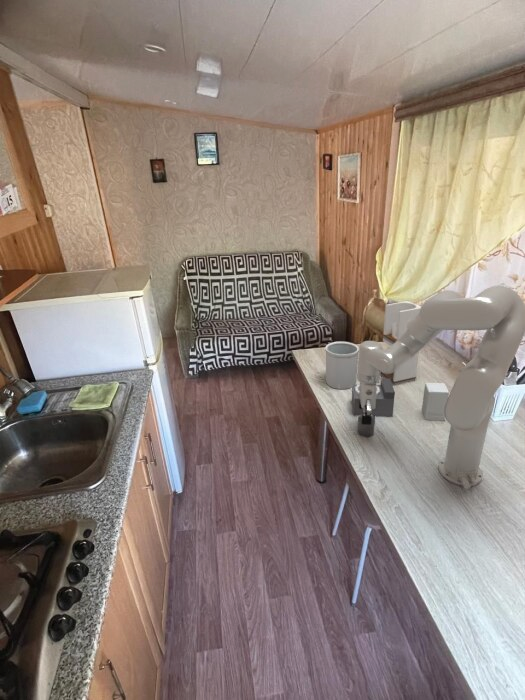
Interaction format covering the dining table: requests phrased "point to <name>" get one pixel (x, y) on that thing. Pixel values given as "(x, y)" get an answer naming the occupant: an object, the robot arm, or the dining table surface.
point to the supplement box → (434, 401)
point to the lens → (365, 426)
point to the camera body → (377, 399)
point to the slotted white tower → (393, 330)
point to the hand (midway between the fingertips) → (364, 416)
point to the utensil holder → (341, 364)
